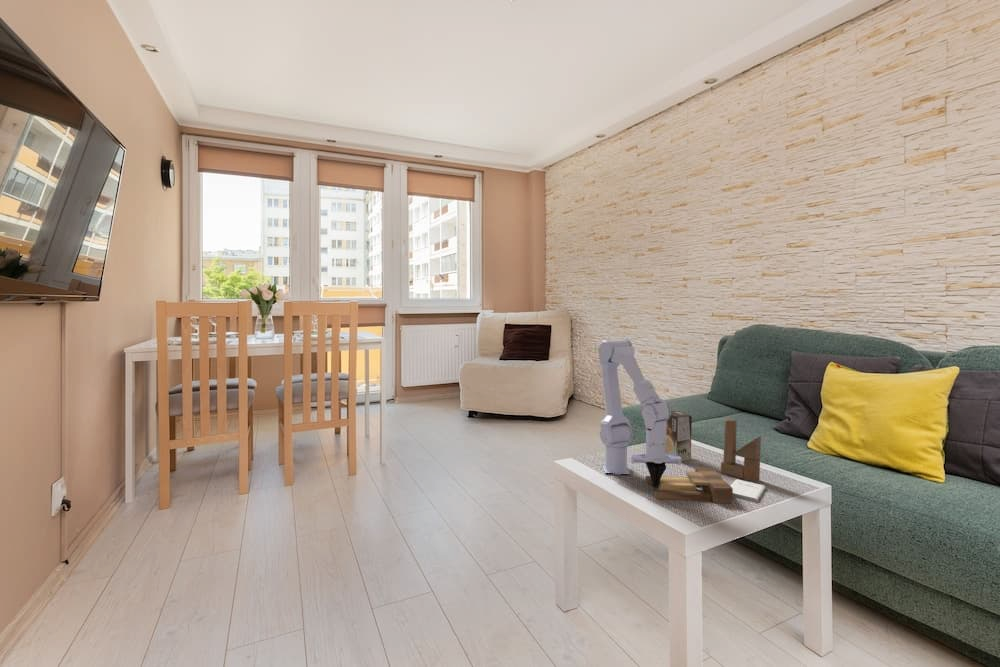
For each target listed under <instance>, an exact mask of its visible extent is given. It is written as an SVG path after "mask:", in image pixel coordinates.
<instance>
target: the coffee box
mask: <svg viewBox="0 0 1000 667" xmlns="http://www.w3.org/2000/svg"><path fill="white" fill-rule="evenodd" d="M692 424H693V423H692V415H691V414H687V413H683V412H681V411H679V410H671V416H670V418H669V419H668V420H666V455H671V456H680V457H681V462H683V461H684V462H685V461H691V460H692V426H693V425H692Z"/></svg>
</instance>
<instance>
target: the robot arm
mask: <svg viewBox="0 0 1000 667" xmlns="http://www.w3.org/2000/svg"><path fill="white" fill-rule="evenodd" d="M597 350H598V351H597V352H598V358H599V359H598V360H599V366H600V375H601V384H602V390H603V392H602V393H603V401H604V406H605V407H604V408H605V409H604V410H605V417H604V418H603V419H602V420H601V421H600V423H599V425H600V429H599V438H600V440H601V442H602V444H603V445H604V463H605V467H604V466H602V468H604V469H603V471H605V472H604V474H605V473H613V474H612V475H621V474H631V473H630V470H629V469H628V445H630V442H631V441H632V440H633V436H634V433H633V429H632V426H631V424H630V419H629V418H627V417H626V416H625V415H624V413H623V407H622V398H621V390H620V383H619V375H618V367H619V366H620V365H621V366H623V369H624V371H625V372H626V373H627V375H628V377H630V379H631V381H632V382H633V383H634V385H633V388H632V389H633V392H634V393H635V396H636V398H637V399H638V401H639V404H640V405H641V407H642V410H641V416H642V418H643V421H644V422H643V423H644V427H645V453H642V454H640V453H639V454H630V455H629V459H630V460H629V461H630V463H631V464H635V463H636V464H638V463H640V464H645V466H646V468H647V471H648V473H649V476H650V477H651V481H652V484H651V486H652V488H654V489H658V486H659V482H660V479H661V477H662V476H663V475H664V473H665V471H666V469H667V466H666V464H668V465H669V464H671V465H673V464H674V465H675V464H676V465H679V466H682V461H681V457H680V456H671V455H666V420H668V419H669V418H670V416H671V411H672V410H671V407H670V405H669V403H668V402H666V401H664V400H663V399H662V398H660V396H659V395H658V394H659V393H658V392H657V391H656V389H655V387H654V384H653V382H651V381H650V380H648V379H645V377H644V375H643V372H642V371H641V368H640V365H639V364H638V362H637V360H636V357H635V350H636V349H635V348H634V346H633V343H632V342H631V340H630V339H628V338H623V339H604V340H602V341H601V342H600V344H599V345H598V347H597ZM614 473H615V474H614Z"/></svg>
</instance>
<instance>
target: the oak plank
mask: <svg viewBox="0 0 1000 667" xmlns="http://www.w3.org/2000/svg"><path fill="white" fill-rule="evenodd" d="M681 477H682V476H664V477H661V479H660V482H659V486H658V488H657V490H670V491H697V485H695V484H694V483H693V482H692V481H691V480H690V478H681Z"/></svg>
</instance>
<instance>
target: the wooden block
mask: <svg viewBox="0 0 1000 667" xmlns="http://www.w3.org/2000/svg"><path fill="white" fill-rule="evenodd" d="M723 422H724V423H723V425H724V427H723V430H724V431H723V456H722V457H723V461H721V463H720V473H721V474H724V475H727V476H731V477H735V478H737V479H740V480H741V479H742V480H743V481H747V482H751V481H752V482H751V483H757V482H758V481H760V477H761V476H760V472H761V470H760V468H761V448H762V447H761V443H762V441H761V439H762V436H758V437H755V438H754V439H752V440H751V441H750V442H748V443H747V444H745V445H744V446H743V447H741V448H739V449H737V423H738V422H737V420H736V419H735V418H725V419H724V421H723ZM737 457H741V458H744V459H743V464H741V463H739V462H738V463H737V462H736V458H737ZM756 481H757V482H756Z"/></svg>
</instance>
